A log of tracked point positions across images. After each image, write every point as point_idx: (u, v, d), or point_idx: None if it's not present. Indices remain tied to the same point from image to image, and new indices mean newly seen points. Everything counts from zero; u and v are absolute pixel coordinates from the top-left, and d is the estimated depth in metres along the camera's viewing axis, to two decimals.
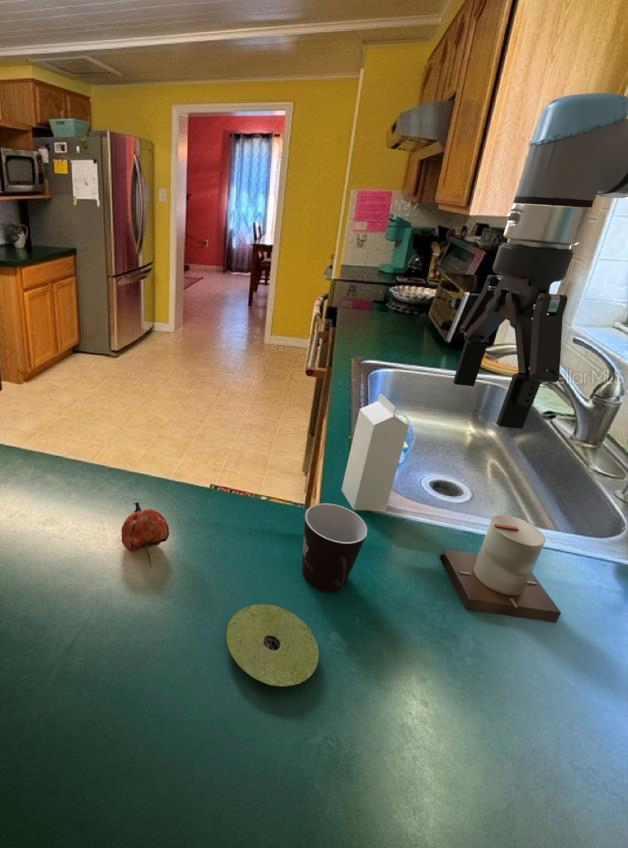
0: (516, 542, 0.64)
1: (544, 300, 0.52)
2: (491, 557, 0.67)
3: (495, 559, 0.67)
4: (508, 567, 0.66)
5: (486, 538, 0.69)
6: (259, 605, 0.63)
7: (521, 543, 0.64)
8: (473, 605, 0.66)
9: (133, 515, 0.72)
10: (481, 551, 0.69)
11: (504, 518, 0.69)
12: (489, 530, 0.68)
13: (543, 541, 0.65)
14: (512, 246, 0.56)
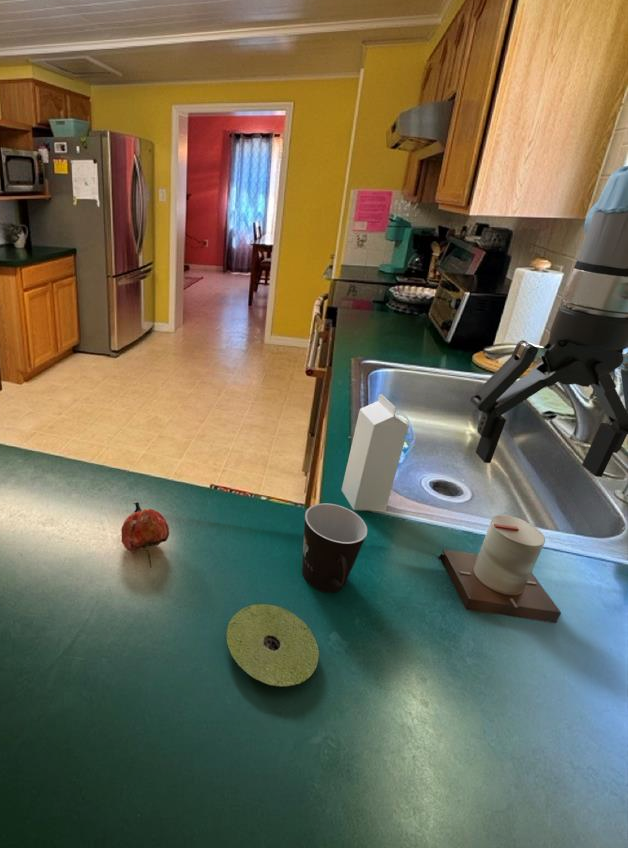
0: (516, 542, 0.64)
1: None
2: (491, 557, 0.67)
3: (495, 559, 0.67)
4: (508, 567, 0.66)
5: (486, 538, 0.69)
6: (259, 605, 0.63)
7: (521, 543, 0.64)
8: (473, 605, 0.66)
9: (133, 515, 0.72)
10: (481, 551, 0.69)
11: (504, 518, 0.69)
12: (489, 530, 0.68)
13: (543, 541, 0.65)
14: None
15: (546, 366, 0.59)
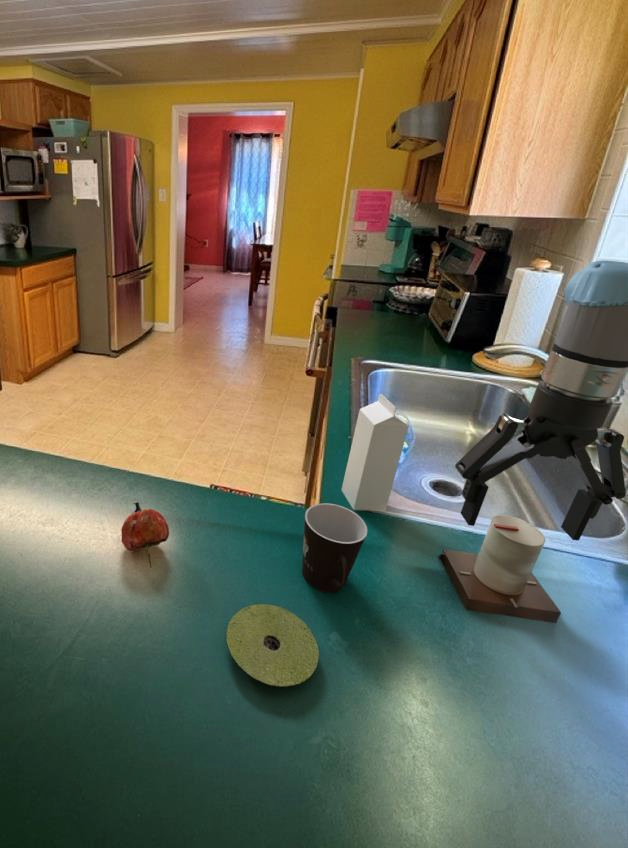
0: (516, 542, 0.64)
1: (623, 439, 0.59)
2: (491, 557, 0.67)
3: (495, 559, 0.67)
4: (508, 567, 0.66)
5: (486, 538, 0.69)
6: (259, 605, 0.63)
7: (521, 543, 0.64)
8: (473, 605, 0.66)
9: (133, 515, 0.72)
10: (481, 551, 0.69)
11: (504, 518, 0.69)
12: (489, 530, 0.68)
13: (543, 541, 0.65)
14: (603, 404, 0.55)
15: (526, 438, 0.62)
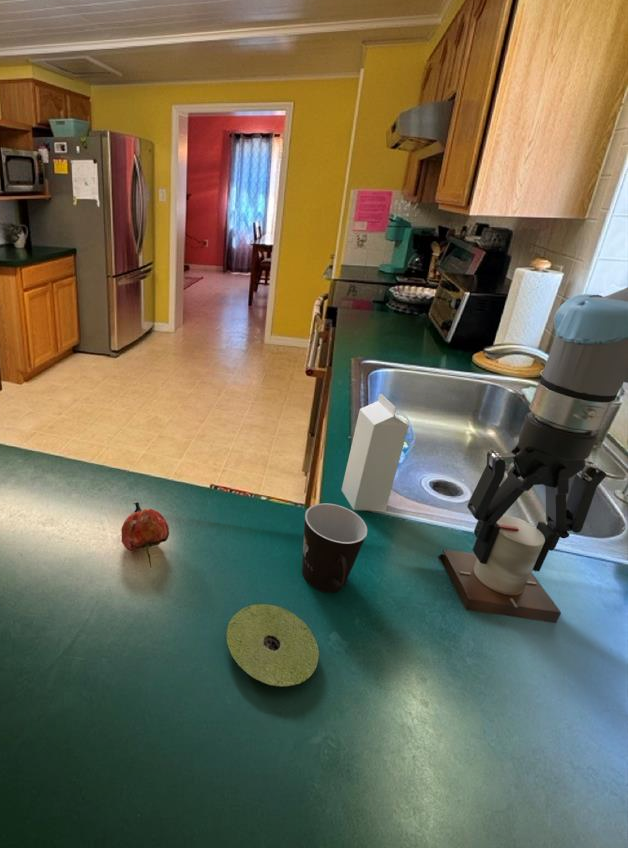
0: (516, 542, 0.64)
1: (603, 477, 0.61)
2: (491, 557, 0.67)
3: (495, 559, 0.67)
4: (508, 567, 0.66)
5: None
6: (259, 605, 0.63)
7: (521, 543, 0.64)
8: (473, 605, 0.66)
9: (133, 515, 0.72)
10: None
11: (504, 518, 0.69)
12: None
13: (543, 541, 0.65)
14: (589, 436, 0.57)
15: (516, 466, 0.64)
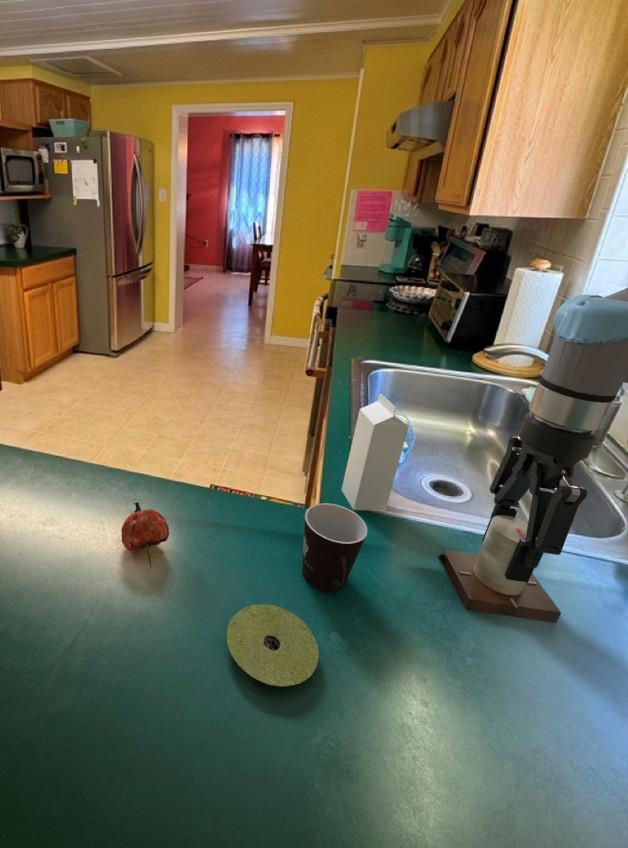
0: None
1: None
2: None
3: None
4: None
5: None
6: (259, 605, 0.63)
7: None
8: (473, 605, 0.66)
9: (133, 515, 0.72)
10: None
11: (504, 531, 0.66)
12: None
13: (522, 520, 0.69)
14: None
15: (550, 483, 0.60)
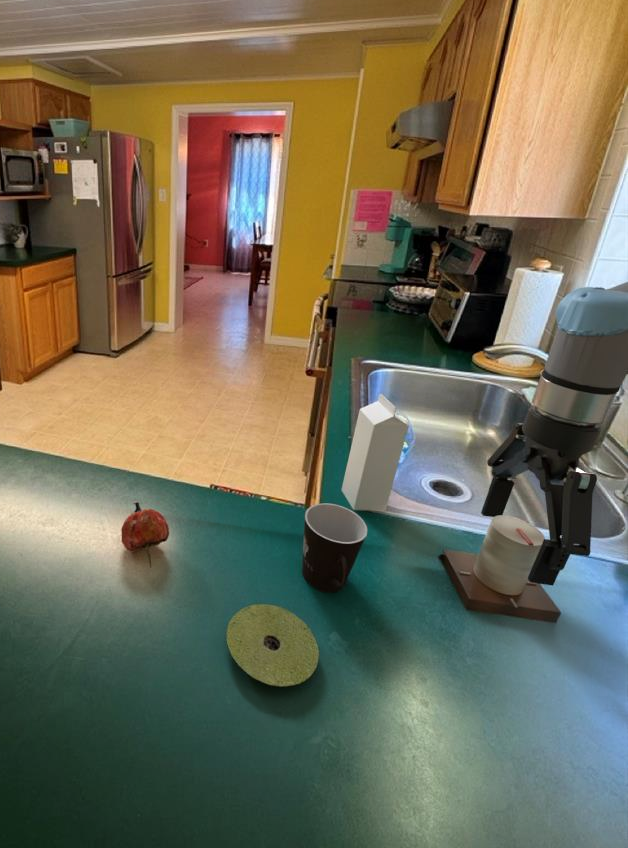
0: None
1: None
2: (529, 570, 0.66)
3: None
4: None
5: (518, 560, 0.65)
6: (259, 605, 0.63)
7: (543, 537, 0.66)
8: (473, 605, 0.66)
9: (133, 515, 0.72)
10: (513, 573, 0.66)
11: (504, 531, 0.66)
12: (522, 551, 0.64)
13: (522, 520, 0.69)
14: None
15: (555, 477, 0.60)
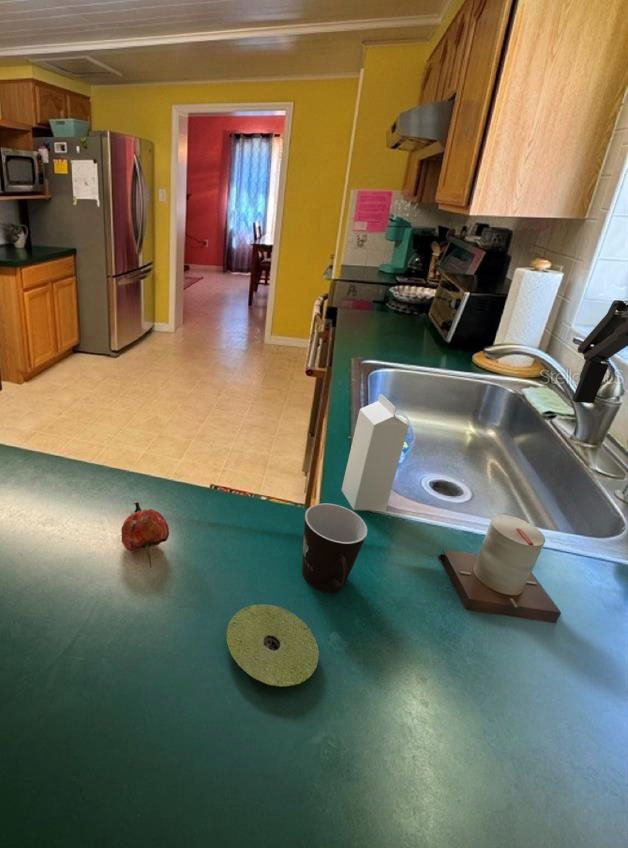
0: (544, 539, 0.65)
1: None
2: (529, 570, 0.66)
3: (532, 567, 0.66)
4: None
5: (518, 560, 0.65)
6: (259, 605, 0.63)
7: (543, 537, 0.66)
8: (473, 605, 0.66)
9: (133, 515, 0.72)
10: (513, 573, 0.66)
11: (504, 531, 0.66)
12: (522, 551, 0.64)
13: (522, 520, 0.69)
14: None
15: None
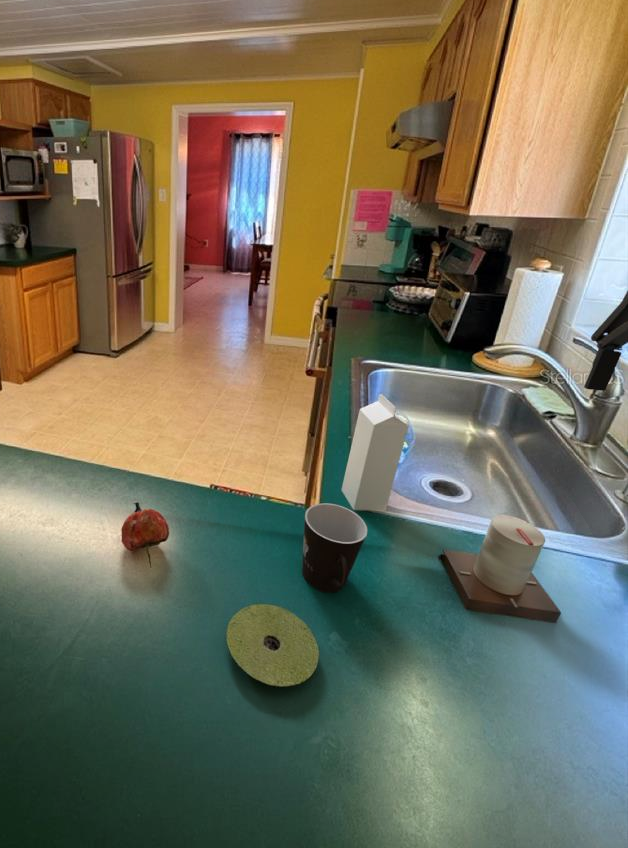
0: (544, 539, 0.65)
1: None
2: (529, 570, 0.66)
3: (532, 567, 0.66)
4: None
5: (518, 560, 0.65)
6: (259, 605, 0.63)
7: (543, 537, 0.66)
8: (473, 605, 0.66)
9: (133, 515, 0.72)
10: (513, 573, 0.66)
11: (504, 531, 0.66)
12: (522, 551, 0.64)
13: (522, 520, 0.69)
14: None
15: None
